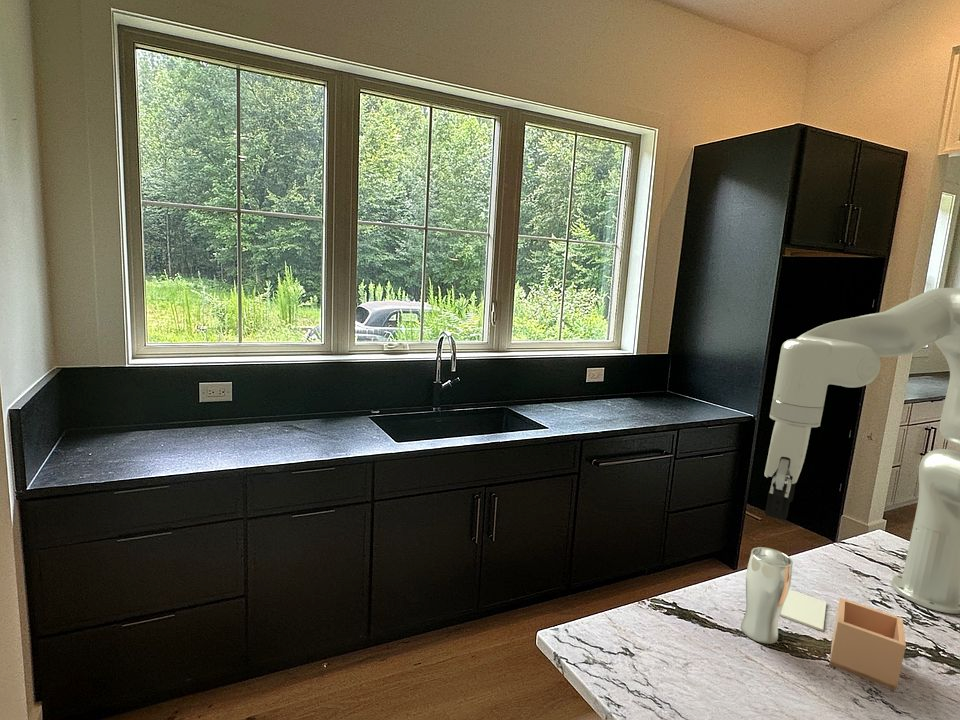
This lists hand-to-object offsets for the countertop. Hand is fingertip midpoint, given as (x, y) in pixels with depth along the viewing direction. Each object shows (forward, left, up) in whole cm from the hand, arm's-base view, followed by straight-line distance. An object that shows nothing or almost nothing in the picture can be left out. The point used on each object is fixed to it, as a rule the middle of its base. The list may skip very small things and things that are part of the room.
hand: (779, 508), depth 95 cm
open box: (-3, +16, -24) cm, 29 cm away
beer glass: (0, 0, -24) cm, 24 cm away
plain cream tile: (-14, +4, -24) cm, 28 cm away
